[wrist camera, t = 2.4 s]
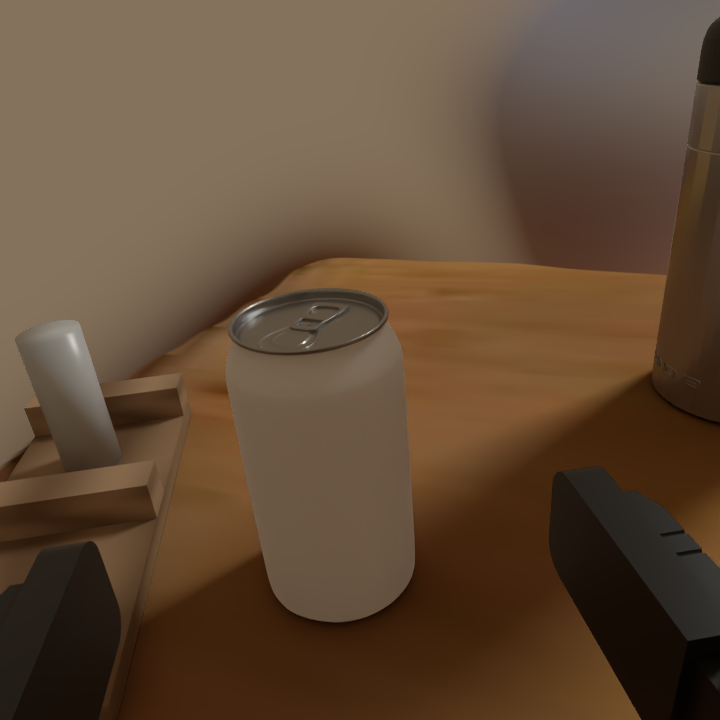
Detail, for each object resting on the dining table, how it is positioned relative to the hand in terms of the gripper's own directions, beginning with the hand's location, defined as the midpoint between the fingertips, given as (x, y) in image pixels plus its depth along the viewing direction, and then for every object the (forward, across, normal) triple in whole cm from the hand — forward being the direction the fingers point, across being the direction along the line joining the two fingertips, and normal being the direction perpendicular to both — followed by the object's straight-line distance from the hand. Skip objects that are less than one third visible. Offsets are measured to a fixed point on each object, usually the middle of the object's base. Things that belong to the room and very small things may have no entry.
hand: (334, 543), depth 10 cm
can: (+12, 0, +12) cm, 17 cm away
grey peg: (+21, +13, +11) cm, 27 cm away
